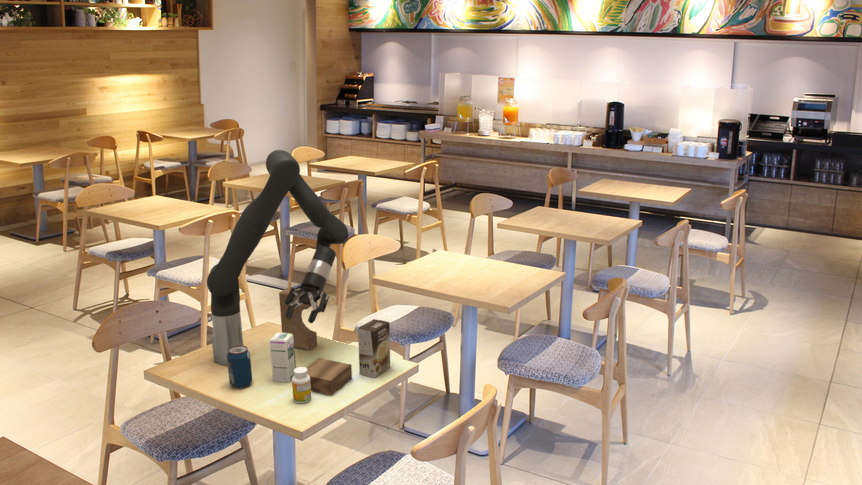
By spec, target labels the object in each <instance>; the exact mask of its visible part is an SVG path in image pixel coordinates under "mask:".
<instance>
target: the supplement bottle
mask: <svg viewBox="0 0 862 485" xmlns="http://www.w3.org/2000/svg"><path fill="white" fill-rule="evenodd" d="M291 385H292V398H293V399H292V400H293V401H294V402H295V403H297V404H305V403H308V402H310V401H311V400H312V391H311V382H310V376H309V375H308V371H307V368H306V366H299V367H296V369H294V376H293V378H292V380H291Z"/></svg>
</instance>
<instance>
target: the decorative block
mask: <svg viewBox="0 0 862 485" xmlns="http://www.w3.org/2000/svg"><path fill="white" fill-rule="evenodd" d="M291 288H292V287H291ZM291 288H289V287H286V288H285V289H283V290H281V291H280V292H279V293H278V296H279V298H278V299H279V310H280V311H279V312H280V323H281V324H280V325H281V333H291V334H293V339H294V349H299V350H300V349H302V350H306V351H310V350H312V349H313V348H314V347H315V346H317V345H318V337H317V336H318V334H317V331H314V330H312V329H310V328H309V327H308V326H307V325H306V324H305V322H304V321H303V316H302V315H303V311H304V310H308V309H309V308H312V305H308V304H303V303H302V304H301V305H300V306H297V307H296V308H295V309H294V312H293V315H292V317H291V319H288V318H286V312H287V309H288V305H286V304H285V300H286V298H287V296H288V294H289V292H290V290H291ZM295 289H296V290H299V289H300V288H299V289H298V288H295ZM297 296H298V294H297ZM295 297H296V296H295ZM298 301H300V300H298Z"/></svg>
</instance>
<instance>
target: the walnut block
mask: <svg viewBox="0 0 862 485" xmlns="http://www.w3.org/2000/svg"><path fill="white" fill-rule="evenodd" d="M305 368H307V371H308V375H309V376H310V382H311V392H313V393H319V394H322V395H328V396H330V397H332V396H333V395H335V393H337V392H338V391H339V390H340V389H342V388H343V387H344V386H345V385H347V383H349V382H350V381H351V380H352V379H353V370H352V364H350V363H346V362H341V361H336V360H331V359H326V358H321V357H318V358H317V359H315V360H314V361H313V362H311V363H310V364H308V365H307V366H305Z"/></svg>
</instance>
